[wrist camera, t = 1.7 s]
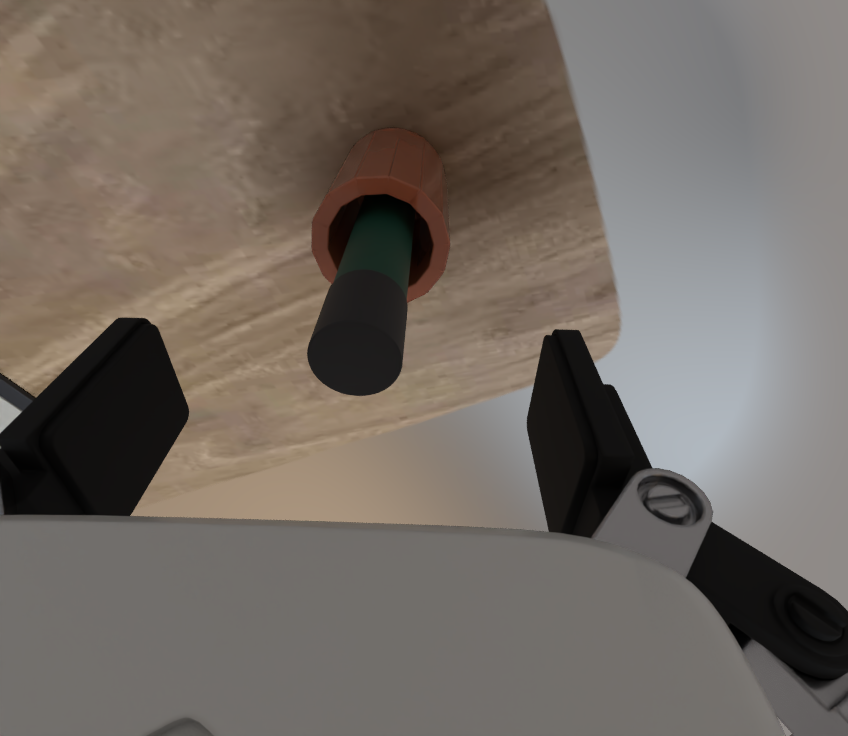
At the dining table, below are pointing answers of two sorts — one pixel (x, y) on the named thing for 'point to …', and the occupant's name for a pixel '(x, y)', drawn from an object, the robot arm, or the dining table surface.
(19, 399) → the target board
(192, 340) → the dining table surface
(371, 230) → the marker
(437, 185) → the pen pot
